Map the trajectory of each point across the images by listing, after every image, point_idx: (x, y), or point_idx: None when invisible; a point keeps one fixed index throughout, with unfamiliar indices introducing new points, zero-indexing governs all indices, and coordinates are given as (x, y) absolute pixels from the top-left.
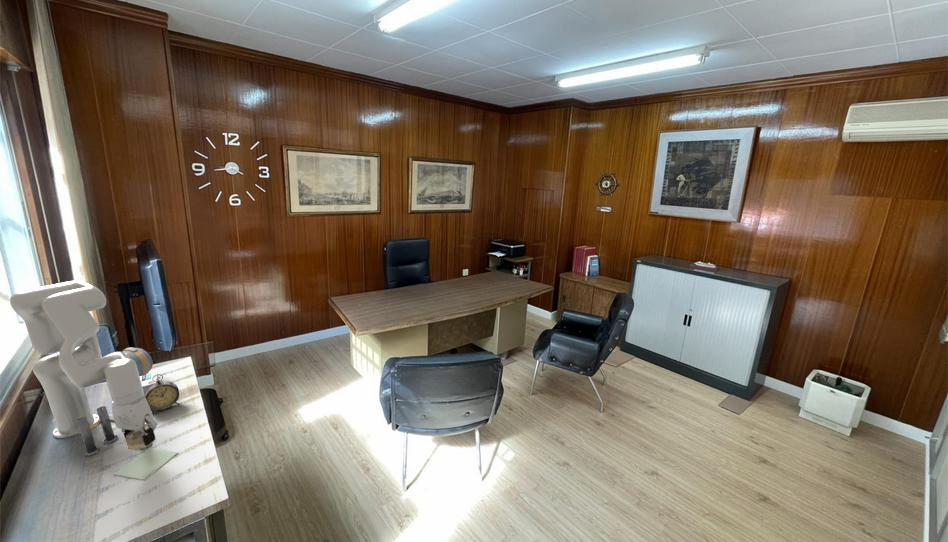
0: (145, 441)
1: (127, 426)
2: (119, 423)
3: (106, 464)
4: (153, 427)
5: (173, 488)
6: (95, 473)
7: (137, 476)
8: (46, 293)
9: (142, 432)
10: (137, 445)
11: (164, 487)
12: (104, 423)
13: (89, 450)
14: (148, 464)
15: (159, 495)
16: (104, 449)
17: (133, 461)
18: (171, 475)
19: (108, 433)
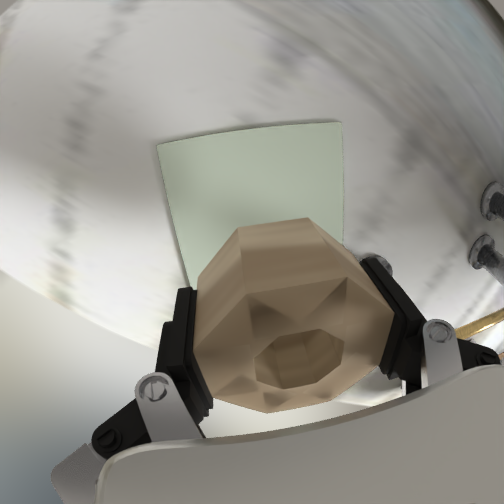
0: (173, 317)
1: (332, 491)
2: (487, 455)
3: (421, 164)
4: (65, 462)
5: (21, 175)
6: (416, 117)
7: (209, 144)
8: None
9: (176, 405)
10: (223, 266)
11: (47, 162)
12: None
13: (501, 197)
14: (241, 212)
15: (28, 133)
16: (474, 218)
17: (331, 203)
18: (85, 209)
19: (498, 264)
